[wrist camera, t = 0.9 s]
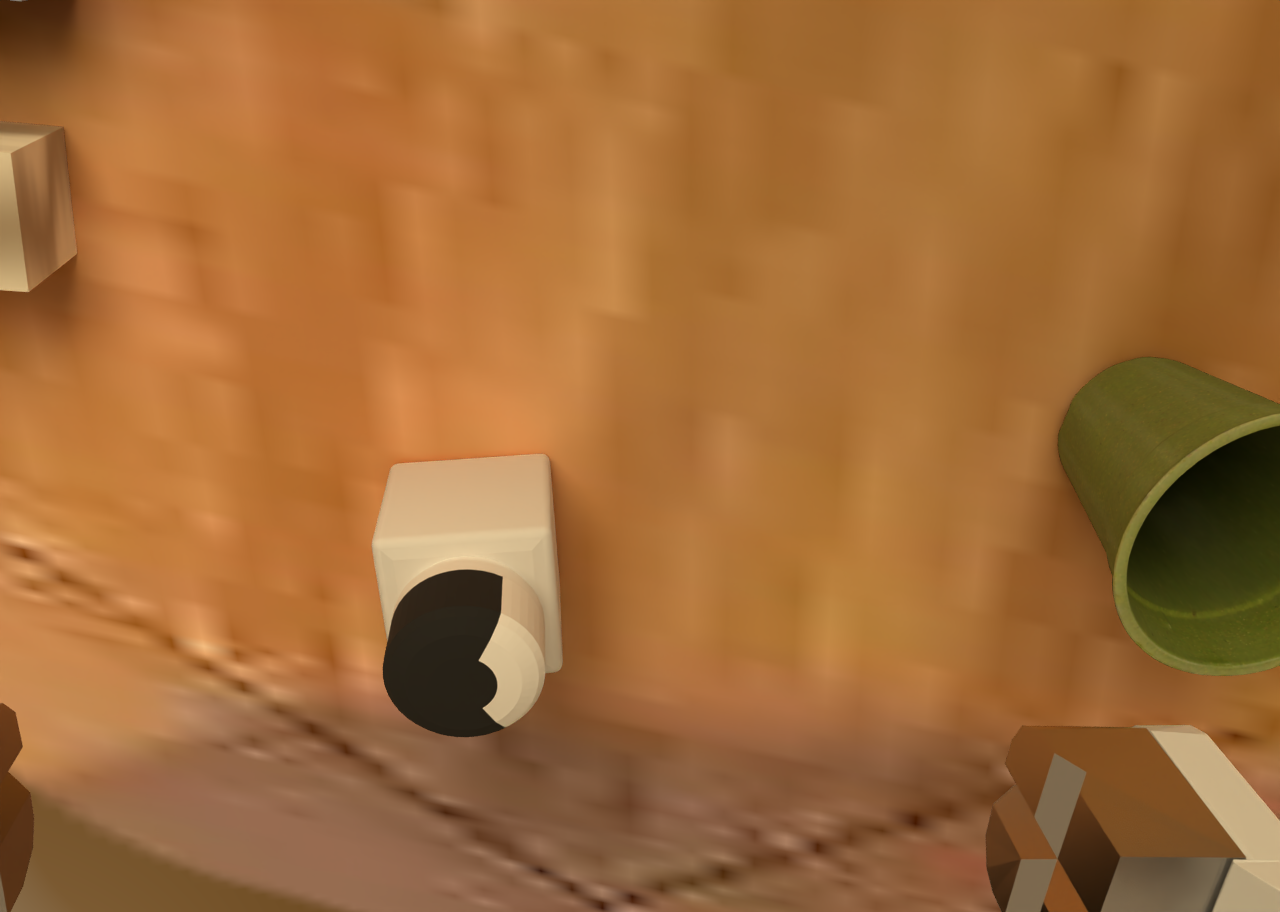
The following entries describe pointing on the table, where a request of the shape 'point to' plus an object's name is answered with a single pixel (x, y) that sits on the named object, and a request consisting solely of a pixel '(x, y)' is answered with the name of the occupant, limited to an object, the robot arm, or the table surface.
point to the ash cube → (33, 205)
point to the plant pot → (1183, 510)
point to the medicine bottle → (468, 590)
